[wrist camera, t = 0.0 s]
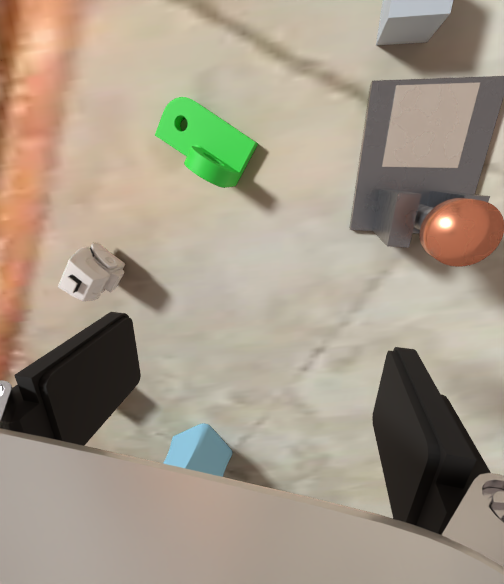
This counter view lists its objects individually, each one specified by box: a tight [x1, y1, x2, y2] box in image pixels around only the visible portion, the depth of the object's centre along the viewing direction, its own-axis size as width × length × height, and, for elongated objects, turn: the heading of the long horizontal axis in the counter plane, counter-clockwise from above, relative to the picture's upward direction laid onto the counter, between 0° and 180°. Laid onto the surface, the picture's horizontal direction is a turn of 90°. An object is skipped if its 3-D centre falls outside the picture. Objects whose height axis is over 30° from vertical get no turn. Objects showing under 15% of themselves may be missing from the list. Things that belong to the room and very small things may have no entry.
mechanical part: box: [155, 97, 258, 188], centre depth 35 cm, size 12×6×8 cm, turn 59°
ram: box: [414, 198, 504, 266], centre depth 27 cm, size 5×5×12 cm
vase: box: [163, 424, 233, 477], centre depth 49 cm, size 10×10×25 cm
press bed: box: [350, 76, 504, 248], centre depth 30 cm, size 16×13×10 cm
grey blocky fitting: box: [58, 243, 125, 301], centre depth 44 cm, size 6×7×10 cm
